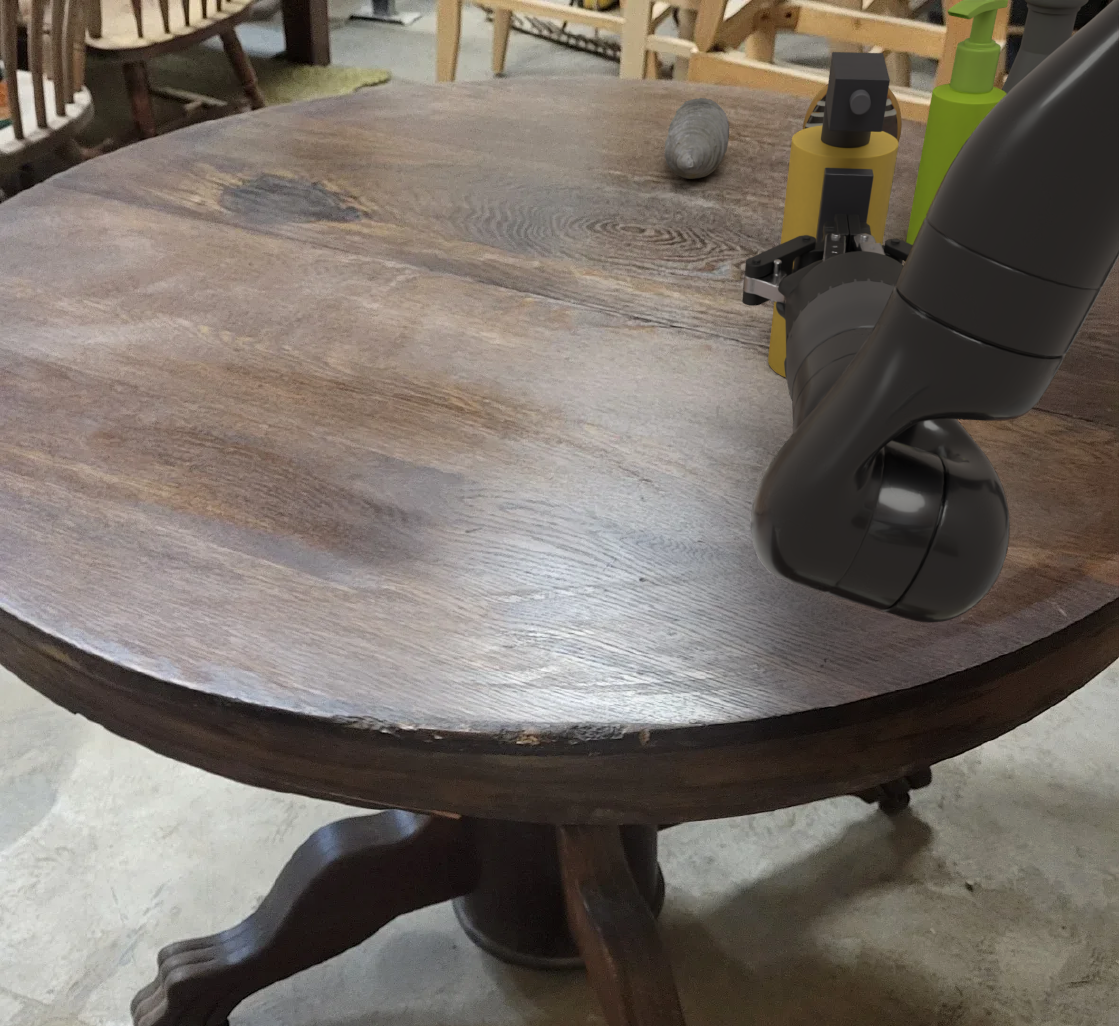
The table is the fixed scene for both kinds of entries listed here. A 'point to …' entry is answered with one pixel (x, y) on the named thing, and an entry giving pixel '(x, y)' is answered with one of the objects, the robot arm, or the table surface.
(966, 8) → the soap dispenser
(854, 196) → the trigger
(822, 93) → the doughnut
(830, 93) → the spray bottle
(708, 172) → the seashell
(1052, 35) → the candle holder
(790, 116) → the table surface
